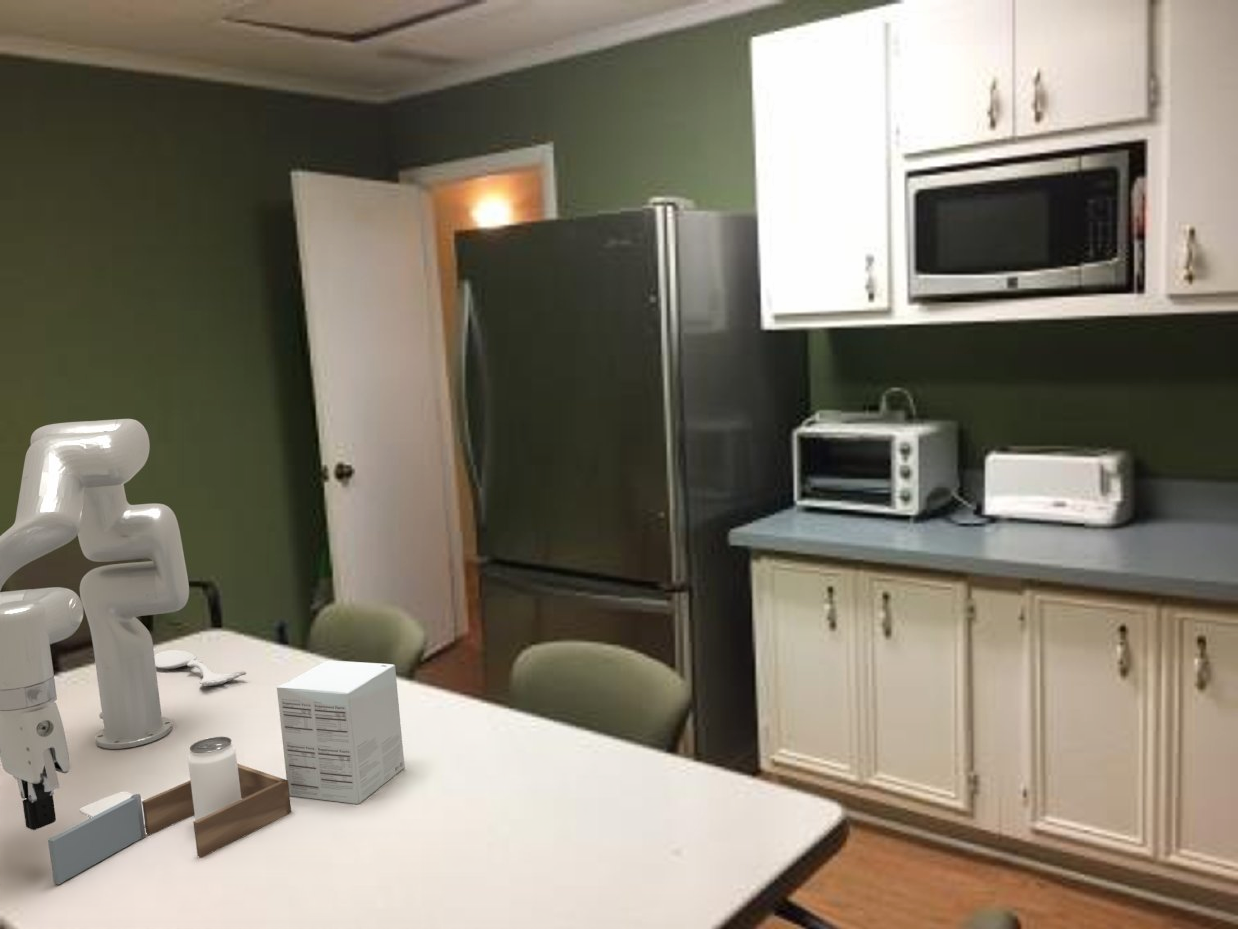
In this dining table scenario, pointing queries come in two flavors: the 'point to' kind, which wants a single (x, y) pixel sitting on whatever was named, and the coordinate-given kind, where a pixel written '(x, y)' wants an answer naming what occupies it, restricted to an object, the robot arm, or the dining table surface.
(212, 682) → the spoon
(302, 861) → the dining table surface
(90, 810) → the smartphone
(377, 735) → the supplement box
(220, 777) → the can
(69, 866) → the bin gate
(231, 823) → the bin
